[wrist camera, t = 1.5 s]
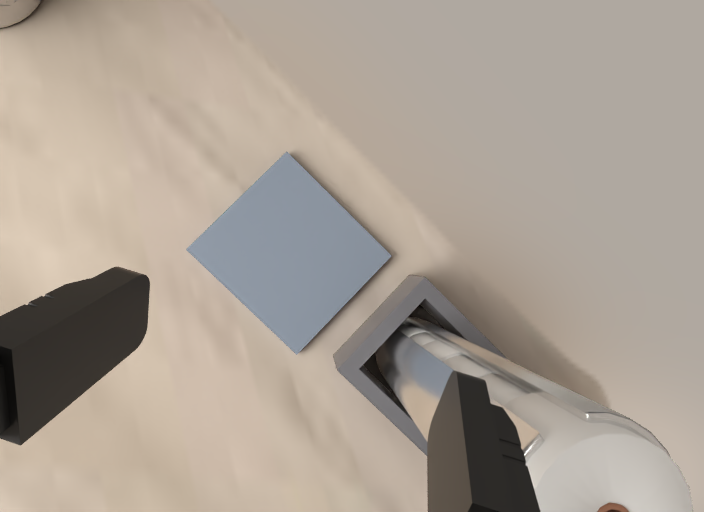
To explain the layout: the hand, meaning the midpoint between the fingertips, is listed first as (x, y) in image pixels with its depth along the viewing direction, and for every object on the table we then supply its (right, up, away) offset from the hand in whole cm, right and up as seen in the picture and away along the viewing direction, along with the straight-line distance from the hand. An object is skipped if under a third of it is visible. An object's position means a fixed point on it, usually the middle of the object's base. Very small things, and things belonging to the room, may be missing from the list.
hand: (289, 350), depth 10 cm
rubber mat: (-4, +3, +26) cm, 26 cm away
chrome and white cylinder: (+7, -6, +27) cm, 29 cm away
